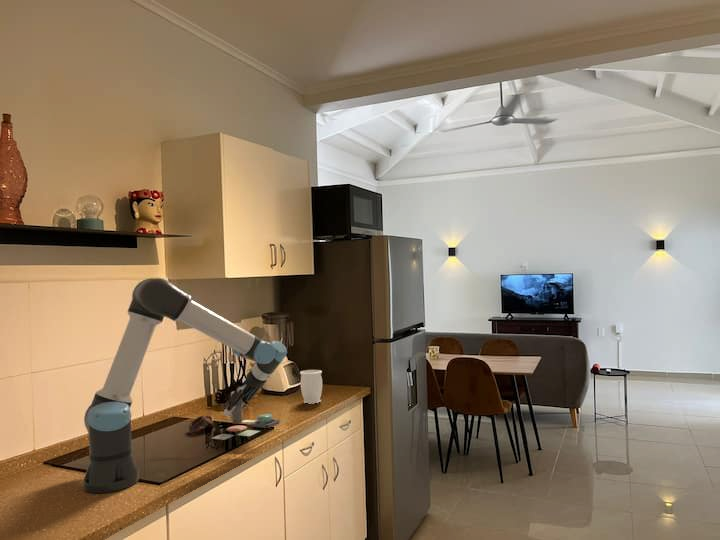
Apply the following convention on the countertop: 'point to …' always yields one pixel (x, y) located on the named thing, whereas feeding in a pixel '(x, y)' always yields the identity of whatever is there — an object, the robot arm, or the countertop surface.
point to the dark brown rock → (202, 424)
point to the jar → (311, 386)
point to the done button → (264, 418)
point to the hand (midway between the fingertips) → (229, 412)
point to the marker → (237, 413)
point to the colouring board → (247, 432)
